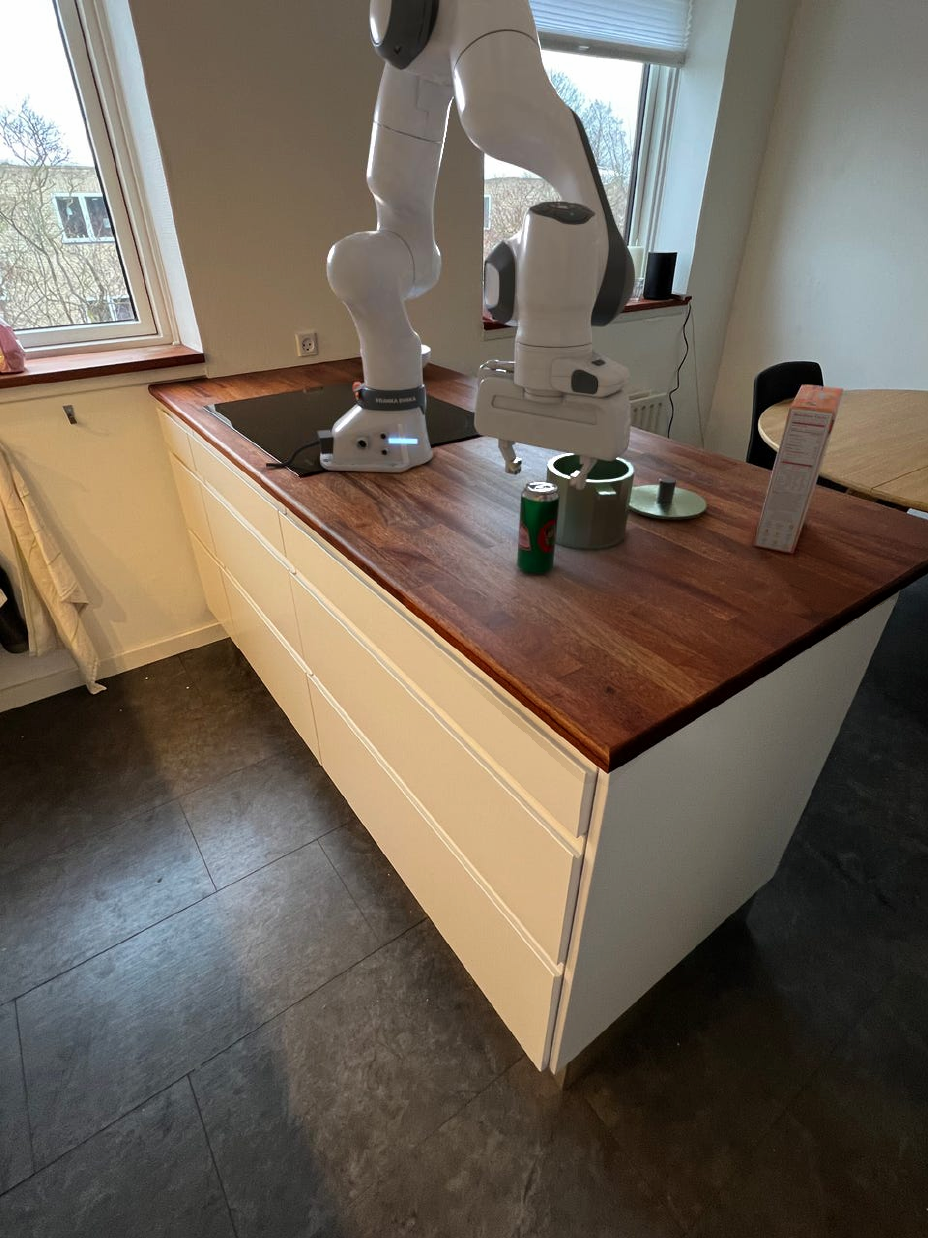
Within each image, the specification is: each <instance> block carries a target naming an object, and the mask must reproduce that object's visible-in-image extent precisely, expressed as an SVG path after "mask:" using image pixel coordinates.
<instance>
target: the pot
mask: <svg viewBox="0 0 928 1238" xmlns="http://www.w3.org/2000/svg"><path fill="white" fill-rule="evenodd" d="M583 465H584V464H580V455H576V454H571V453H563V454H559V455H557V456H554V457H553V458H551V459H550V460H549V461H548V462H547V467H546V477H545V479H546V480H545V482H549V483H552V484H554V485H556V486H557V488H558V489H557V491H558V493H559V495H560V498H559V509H558V520H557V531H556V542H555V544H558V545H560V546H563V547H568V548H571V549H578V550H602V549H603V550H604V549H607V548H611V547H614V546H617V545H618V544H620V543H621V542H622V541H623V540H624V538H625V534H626V529H627V523H628V516H629V511H630V509H629V504H630V498H631V492H632V488H633V485H634V478H635V467H634V465H633V464H632V463H630V461H627V460H625V459H623V458H621V457H618V458H616V459H615V460H613V461H605V460H600V459H597V462H596V463H595V465H594V466H593V467H592V469H591V470H590V471H589V473H588V474H587V479H586V485H585V487H584V488H583V489H582V490H578V489H574V488H570V487H569V484H570V475H571V474H573V473H574V472H576V471H580V470H581V468H582V467H583Z"/></svg>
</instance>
